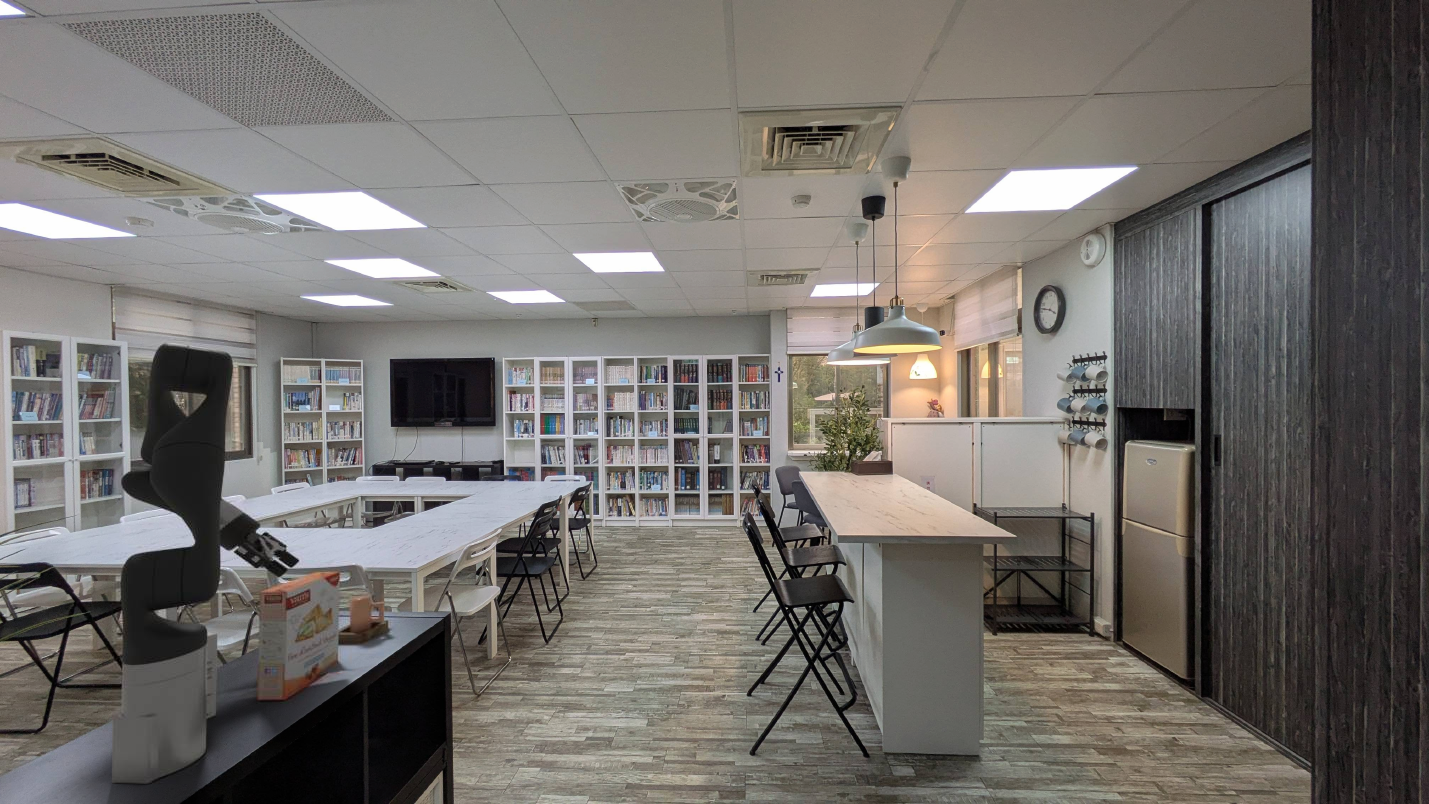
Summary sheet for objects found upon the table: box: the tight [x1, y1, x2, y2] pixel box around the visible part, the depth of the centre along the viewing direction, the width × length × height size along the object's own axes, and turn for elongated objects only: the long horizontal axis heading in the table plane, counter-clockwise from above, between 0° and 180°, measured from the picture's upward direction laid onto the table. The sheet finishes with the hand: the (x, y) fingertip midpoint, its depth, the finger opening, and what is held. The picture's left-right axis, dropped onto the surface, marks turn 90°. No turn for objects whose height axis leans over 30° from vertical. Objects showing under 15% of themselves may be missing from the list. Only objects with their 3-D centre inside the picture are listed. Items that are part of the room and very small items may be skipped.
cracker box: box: [256, 571, 341, 701], centre depth 106 cm, size 14×6×21 cm, turn 179°
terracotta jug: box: [349, 594, 385, 633], centre depth 127 cm, size 4×7×9 cm, turn 115°
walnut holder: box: [338, 619, 393, 645], centre depth 126 cm, size 10×10×4 cm
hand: (290, 568), depth 121 cm, fingers open, 8 cm apart
